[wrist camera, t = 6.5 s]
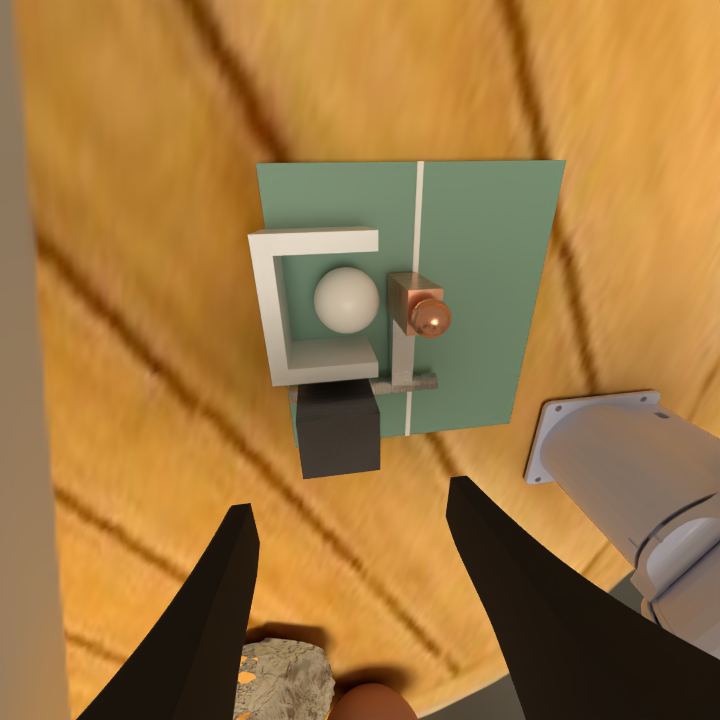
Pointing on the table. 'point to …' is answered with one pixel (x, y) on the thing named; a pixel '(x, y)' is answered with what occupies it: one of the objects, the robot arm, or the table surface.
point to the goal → (285, 355)
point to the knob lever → (368, 386)
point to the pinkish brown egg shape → (372, 704)
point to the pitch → (428, 269)
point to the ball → (346, 300)
